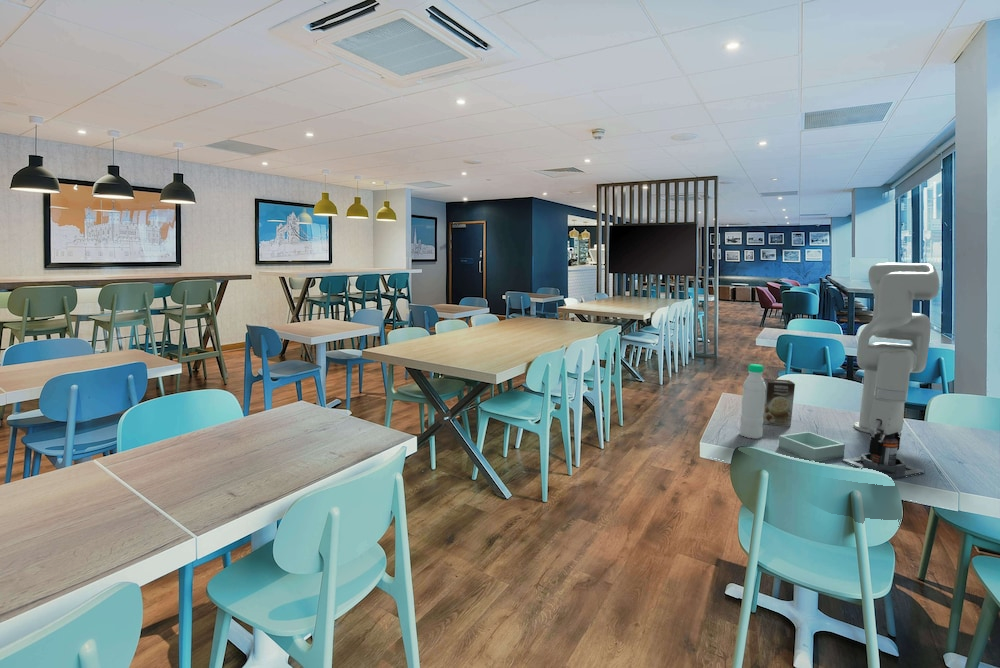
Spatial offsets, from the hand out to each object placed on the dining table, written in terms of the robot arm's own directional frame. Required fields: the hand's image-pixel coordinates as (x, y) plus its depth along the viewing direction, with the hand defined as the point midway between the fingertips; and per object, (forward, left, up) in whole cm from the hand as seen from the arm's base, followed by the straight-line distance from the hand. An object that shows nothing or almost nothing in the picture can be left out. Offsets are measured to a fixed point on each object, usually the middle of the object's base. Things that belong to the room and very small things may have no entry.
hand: (883, 451), depth 150 cm
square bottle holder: (0, 0, -5) cm, 5 cm away
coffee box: (-5, -42, -5) cm, 43 cm away
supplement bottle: (0, 0, -5) cm, 5 cm away
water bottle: (+15, -34, -5) cm, 38 cm away
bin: (+9, -16, -5) cm, 19 cm away
